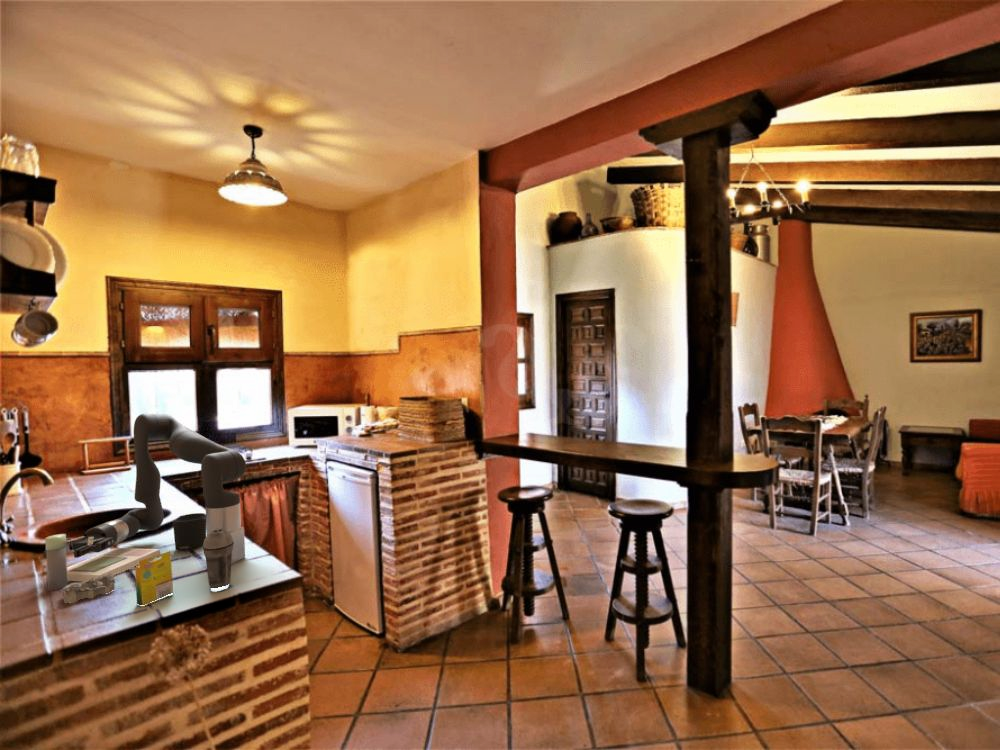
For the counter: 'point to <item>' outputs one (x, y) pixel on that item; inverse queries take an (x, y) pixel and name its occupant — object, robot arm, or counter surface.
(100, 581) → the egg carton
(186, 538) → the pen holder
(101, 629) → the counter surface
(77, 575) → the drawing board
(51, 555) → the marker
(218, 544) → the beverage cup
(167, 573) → the crayon box
